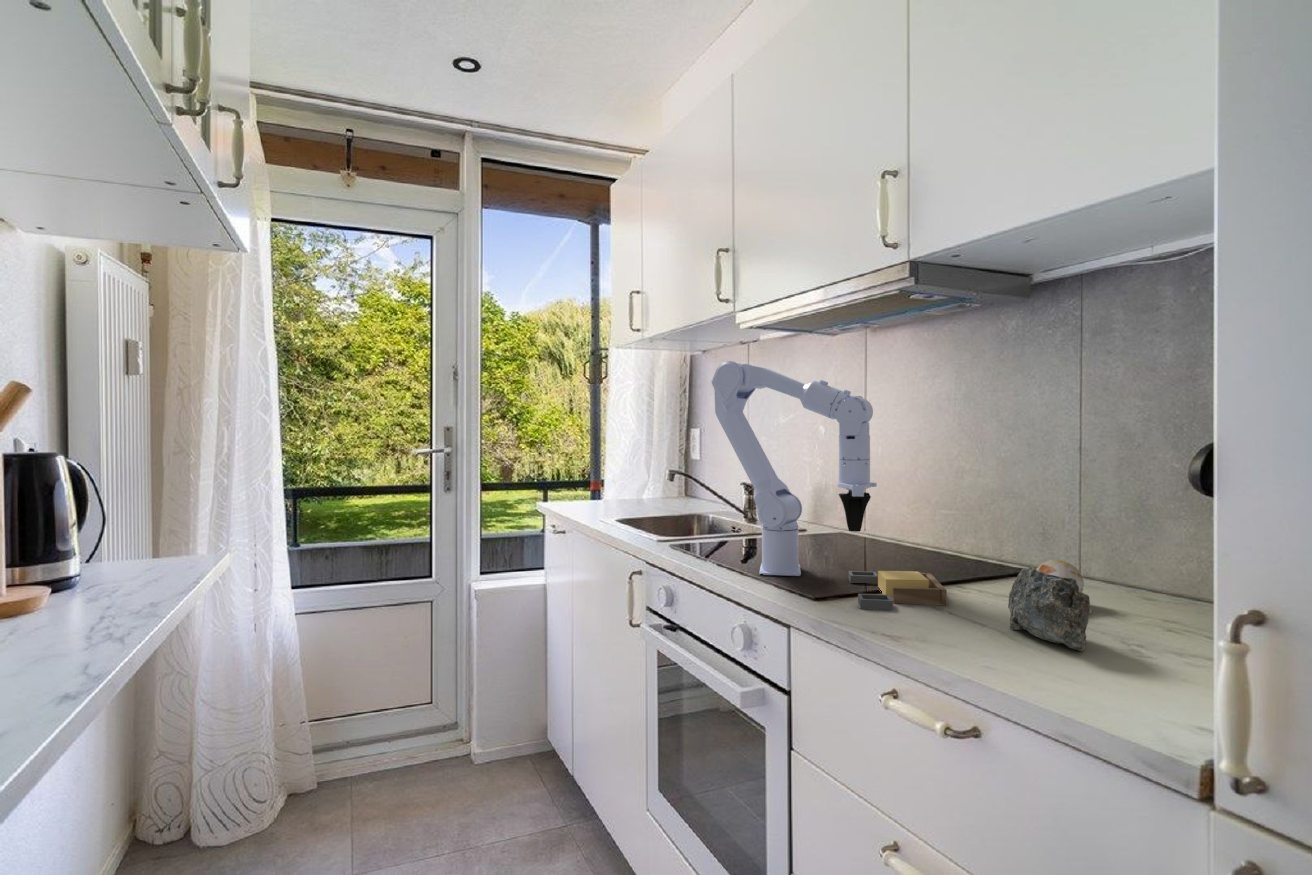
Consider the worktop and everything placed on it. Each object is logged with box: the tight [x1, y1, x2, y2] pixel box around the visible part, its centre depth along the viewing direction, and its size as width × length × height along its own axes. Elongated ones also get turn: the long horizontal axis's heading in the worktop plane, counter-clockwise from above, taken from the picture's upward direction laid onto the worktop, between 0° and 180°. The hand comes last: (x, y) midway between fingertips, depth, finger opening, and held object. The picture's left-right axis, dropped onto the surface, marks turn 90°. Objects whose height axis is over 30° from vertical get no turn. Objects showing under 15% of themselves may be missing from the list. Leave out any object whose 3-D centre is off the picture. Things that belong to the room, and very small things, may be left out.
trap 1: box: [848, 570, 878, 584], centre depth 130 cm, size 4×5×2 cm
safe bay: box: [892, 572, 948, 606], centre depth 120 cm, size 13×8×2 cm, turn 169°
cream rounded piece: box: [1036, 559, 1093, 615], centre depth 112 cm, size 8×10×10 cm
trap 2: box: [857, 593, 894, 611], centre depth 112 cm, size 4×5×2 cm
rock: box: [1007, 566, 1091, 652], centre depth 95 cm, size 14×10×10 cm
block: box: [877, 570, 929, 599], centre depth 121 cm, size 7×7×4 cm
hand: (854, 530), depth 131 cm, fingers closed
